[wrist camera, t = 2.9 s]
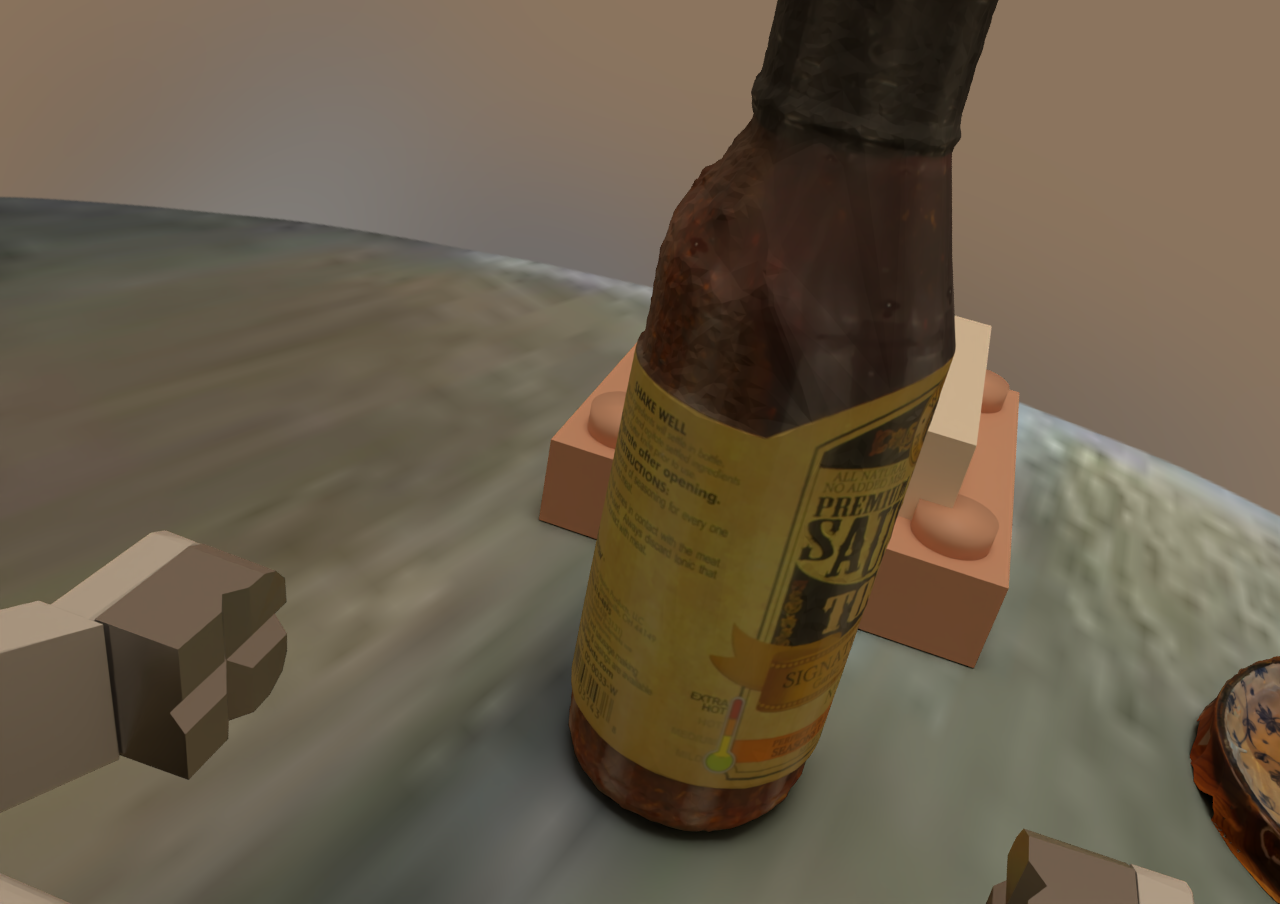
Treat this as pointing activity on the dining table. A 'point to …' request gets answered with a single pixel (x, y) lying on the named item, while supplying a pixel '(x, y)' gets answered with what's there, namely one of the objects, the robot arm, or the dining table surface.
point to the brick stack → (926, 523)
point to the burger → (1245, 768)
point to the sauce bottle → (775, 413)
